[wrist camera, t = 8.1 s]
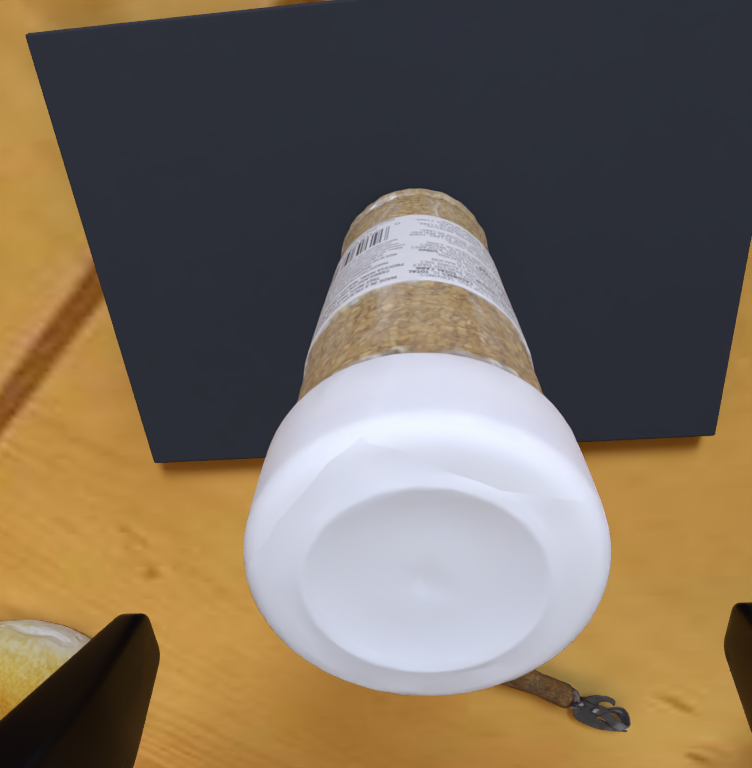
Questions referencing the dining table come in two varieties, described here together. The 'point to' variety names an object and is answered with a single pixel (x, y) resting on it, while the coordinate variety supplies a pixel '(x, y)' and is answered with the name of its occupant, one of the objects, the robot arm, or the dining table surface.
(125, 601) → the dining table surface
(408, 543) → the spice jar
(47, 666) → the bread roll
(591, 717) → the can opener
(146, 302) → the desk mat
